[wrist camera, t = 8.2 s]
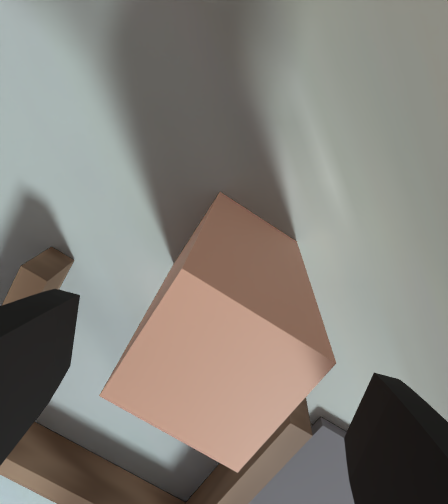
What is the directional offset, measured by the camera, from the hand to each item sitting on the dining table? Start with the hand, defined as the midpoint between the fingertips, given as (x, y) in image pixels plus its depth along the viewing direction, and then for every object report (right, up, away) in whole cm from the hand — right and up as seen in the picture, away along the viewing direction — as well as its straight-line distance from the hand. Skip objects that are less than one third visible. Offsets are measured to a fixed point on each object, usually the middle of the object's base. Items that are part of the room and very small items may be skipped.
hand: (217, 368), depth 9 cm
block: (+1, +3, +8) cm, 9 cm away
